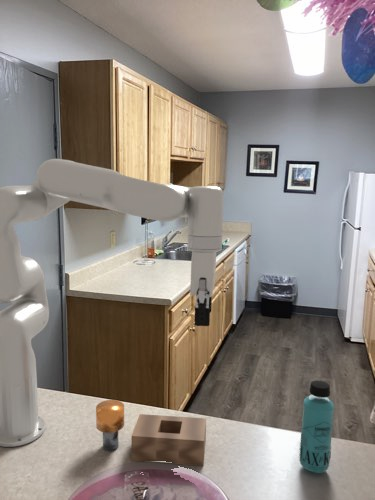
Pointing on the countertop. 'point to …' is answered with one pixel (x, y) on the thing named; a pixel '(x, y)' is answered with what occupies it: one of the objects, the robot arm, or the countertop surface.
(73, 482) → the countertop surface
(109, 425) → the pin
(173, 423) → the block
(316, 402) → the beverage bottle
